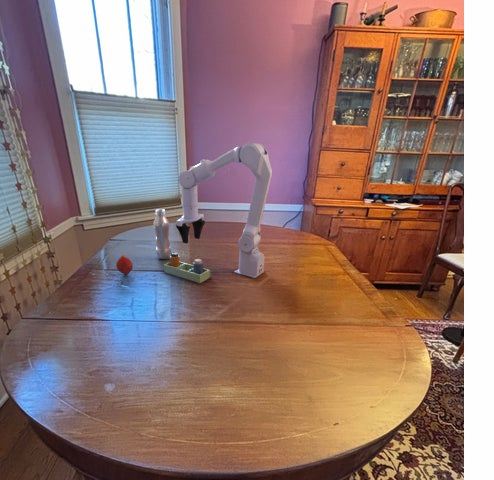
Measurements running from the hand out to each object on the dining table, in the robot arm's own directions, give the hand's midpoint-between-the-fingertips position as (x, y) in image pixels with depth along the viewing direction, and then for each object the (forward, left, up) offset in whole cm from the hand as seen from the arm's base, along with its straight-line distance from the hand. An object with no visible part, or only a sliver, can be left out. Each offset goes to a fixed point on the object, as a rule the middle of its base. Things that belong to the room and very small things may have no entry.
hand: (191, 240), depth 120 cm
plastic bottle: (+13, +3, -10) cm, 16 cm away
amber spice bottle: (-1, +12, -9) cm, 15 cm away
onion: (+12, +25, -10) cm, 29 cm away
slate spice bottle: (-13, +12, -9) cm, 20 cm away
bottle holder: (-7, +12, -9) cm, 17 cm away
